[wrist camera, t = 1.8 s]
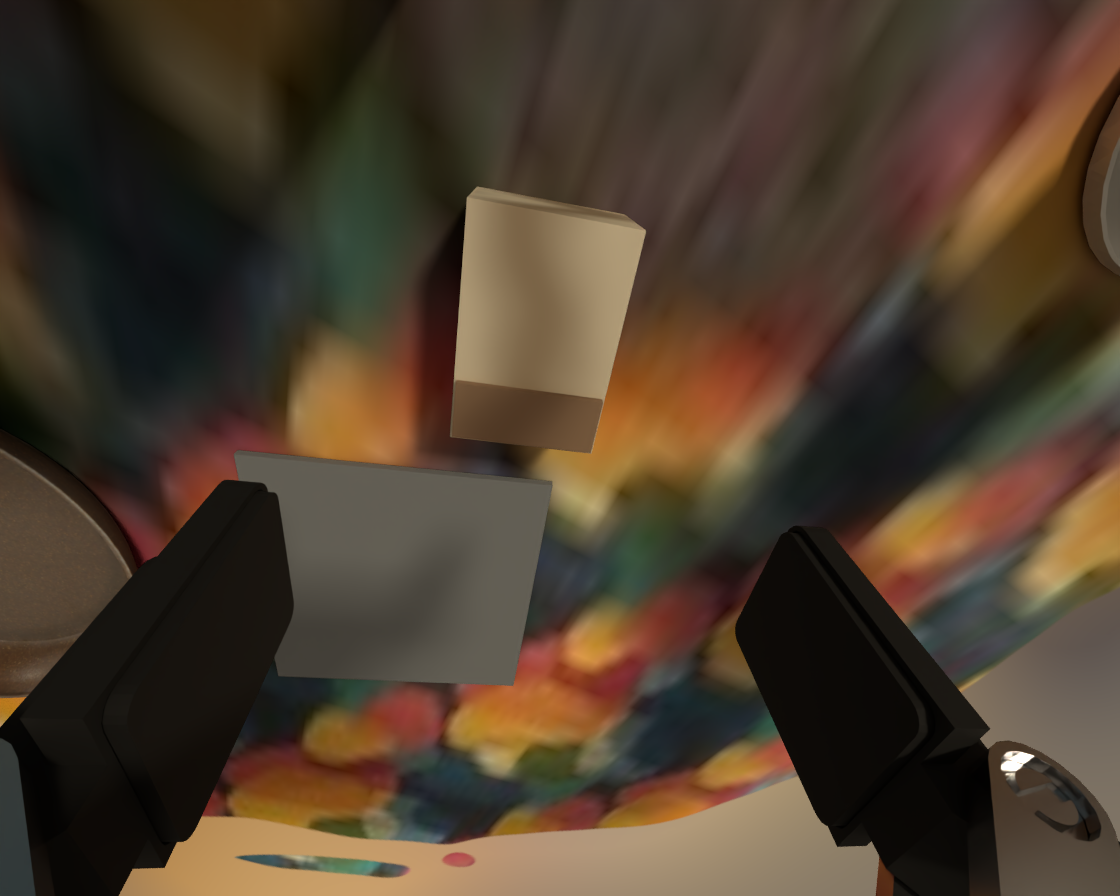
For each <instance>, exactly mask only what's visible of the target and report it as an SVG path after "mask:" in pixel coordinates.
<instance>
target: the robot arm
mask: <svg viewBox="0 0 1120 896" xmlns="http://www.w3.org/2000/svg"><path fill="white" fill-rule="evenodd" d="M1083 226H1084V230H1085V233H1086V237H1087V240H1088V244H1089V247H1090V248H1091V250H1092V251H1093V253H1094V254H1095V256H1096V257H1097V259H1098V260H1099V262H1100V263H1101V264H1103V265H1104V266H1105V267H1107V268H1108V269H1109V270H1111V271H1112V272H1113V273H1115V274H1116V275H1119V276H1120V95H1119V97H1118V99H1117V101H1116V103H1115V105H1114V107H1113V109H1112V111H1111V113H1110V115H1109V117H1108V119H1107V121H1106V123H1105V125H1104V127H1103V129H1102V131H1101V133H1100V135H1099V138H1098V141H1097V144H1096V147H1095V149H1094V152H1093V155H1092V158H1091V161H1090V164H1089V167H1088V171H1087V177H1086V182H1085V188H1084V193H1083ZM293 610H294V599H293V592H292V585H291V579H290V572H289V565H288V559H287V552H286V545H285V538H284V532H283V525H282V518H281V512H280V505H279V499H278V495H277V494H276V493H275V492H268V489H267V487H266V485H265V484H264V483H261V482H248V481H236V480H224V481H222V482H221V483H220V484H219V485H218V486H217V487H216V488H215V489H214V491H213V492H212V493H211V494H210V495H209V496H208V498H207V499H206V500H205V501H204V502H203V503H202V505H201V506H200V507H199V508H198V509H197V511H196V512H195V513H194V514H193V515H192V516H191V518H190V519H189V520H188V521H187V522H186V523H185V525H184V526H183V527H182V528H181V529H180V531H179V532H178V533H177V534H176V535H175V536H174V538H173V539H172V540H171V541H170V542H169V543H168V545H167V546H166V547H165V548H164V549H163V550H162V552H161V553H160V554H159V555H158V556H157V557H154V558H152V559H150V560H147V561H146V562H145V563H144V564H143V565H142V566H141V567H140V568H139V569H138V570H137V571H136V572H135V573H134V574H133V576H132V577H131V578H130V579H129V580H128V581H127V582H126V584H125V585H124V586H123V587H122V588H121V589H120V591H119V592H118V593H117V594H116V595H115V596H114V597H113V599H112V600H111V601H110V602H109V603H108V604H107V605H106V607H105V608H104V609H103V610H102V611H101V612H100V613H99V615H98V616H97V617H96V618H95V619H94V620H93V622H92V623H91V624H90V625H89V626H88V627H87V628H86V630H85V631H84V632H83V633H82V634H81V635H80V636H79V638H78V639H77V640H76V641H75V642H74V643H73V644H72V646H71V647H70V648H69V649H68V650H67V651H66V653H65V654H64V655H63V656H62V657H61V658H60V659H59V661H58V662H57V663H56V664H55V665H54V666H53V667H52V669H51V670H50V671H49V672H48V673H47V674H46V675H45V677H44V678H43V679H42V680H41V681H40V682H39V684H38V685H37V686H36V687H35V688H34V689H33V690H32V692H31V693H30V694H29V695H28V696H27V697H26V698H25V700H24V701H23V702H22V703H21V704H20V705H19V706H18V708H17V709H16V710H15V711H14V712H13V713H12V715H11V716H10V717H9V718H8V719H7V720H6V721H5V723H4V724H3V725H2V726H1V727H0V896H119V894H120V892H121V890H122V888H123V886H124V884H125V882H126V880H127V879H128V877H129V875H130V873H131V871H132V869H137V868H138V869H140V868H165V866H166V864H167V862H168V859H169V857H170V855H171V853H172V851H173V849H174V847H175V845H176V843H177V842H184V841H186V840H187V839H189V837H190V836H191V835H192V834H193V832H194V831H195V829H196V827H197V825H198V823H199V821H200V819H201V816H202V814H203V812H204V810H205V808H206V805H207V803H208V801H209V799H210V797H211V794H212V792H213V790H214V788H215V786H216V784H217V781H218V779H219V777H220V775H221V773H222V770H223V768H224V766H225V764H226V762H227V760H228V757H229V755H230V753H231V751H232V749H233V746H234V744H235V742H236V740H237V738H238V736H239V733H240V731H241V729H242V727H243V725H244V722H245V720H246V718H247V716H248V714H249V711H250V709H251V707H252V705H253V703H254V701H255V698H256V696H257V694H258V692H259V690H260V687H261V685H262V683H263V681H264V679H265V677H266V674H267V672H268V670H269V668H270V666H271V663H272V661H273V659H274V657H275V655H276V653H277V650H278V648H279V646H280V644H281V642H282V639H283V637H284V635H285V633H286V631H287V629H288V626H289V624H290V622H291V619H292V615H293ZM735 634H736V639H737V642H738V644H739V646H740V648H741V650H742V653H743V655H744V657H745V659H746V661H747V664H748V666H749V668H750V670H751V672H752V675H753V677H754V679H755V681H756V683H757V686H758V688H759V690H760V692H761V694H762V697H763V699H764V701H765V703H766V706H767V708H768V710H769V712H770V714H771V717H772V719H773V721H774V723H775V725H776V728H777V730H778V732H779V734H780V736H781V739H782V741H783V743H784V745H785V747H786V750H787V752H788V754H789V756H790V758H791V761H792V763H793V765H794V767H795V769H796V772H797V774H798V776H799V778H800V780H801V783H802V785H803V787H804V789H805V791H806V794H807V796H808V798H809V800H810V802H811V804H812V807H813V809H814V811H815V813H816V815H817V816H818V818H819V819H820V821H821V822H822V823H823V824H825V825H826V826H828V828H829V830H830V832H831V834H832V836H833V839H834V840H835V843H836V845H837V847H843V846H867V845H868V844H869V843H870V842H871V841H872V843H873V845H874V847H875V848H876V850H877V852H878V854H879V867H878V878H877V887H876V896H1120V842H1119V841H1118V839H1117V836H1116V832H1115V830H1114V828H1113V825H1112V823H1111V821H1110V819H1109V817H1108V815H1107V813H1106V812H1105V810H1104V809H1103V807H1102V806H1101V805H1100V803H1099V802H1098V801H1097V799H1096V798H1095V796H1094V795H1093V794H1092V793H1091V792H1090V791H1089V790H1088V789H1087V788H1086V787H1085V786H1084V785H1083V784H1082V783H1081V782H1080V781H1079V780H1078V779H1077V778H1076V777H1075V776H1074V775H1072V774H1071V773H1070V772H1069V771H1067V770H1066V769H1065V768H1064V767H1063V766H1061V765H1060V764H1059V763H1057V762H1056V761H1054V760H1052V759H1051V758H1049V757H1048V756H1046V755H1044V754H1043V753H1042V752H1040V751H1037V750H1035V749H1033V748H1031V747H1028V746H1027V745H1024V744H1021V743H1017V742H1012V741H999V742H996V743H995V744H994V745H992V746H991V747H990V748H989V749H987V748H986V747H985V745H984V744H983V743H982V741H981V740H980V738H981V737H982V736H983V735H984V734H985V733H986V732H987V731H988V730H990V728H989V727H988V726H987V724H986V723H985V722H984V721H983V719H982V718H981V717H980V716H979V714H978V713H977V712H976V711H975V710H974V708H973V707H972V706H971V705H970V704H969V702H968V701H967V700H966V699H965V697H964V696H963V695H962V694H961V692H960V691H959V690H958V689H957V688H956V686H955V685H954V684H953V683H952V681H951V680H950V679H949V678H948V677H947V675H946V674H945V673H944V672H943V670H942V669H941V668H940V667H939V665H938V664H937V663H936V662H935V661H934V659H933V658H932V657H931V656H930V654H929V653H928V652H927V651H926V650H925V648H924V647H923V646H922V645H921V643H920V642H919V641H918V640H917V639H916V637H915V636H914V635H913V634H912V632H911V631H910V630H909V629H908V628H907V626H906V625H905V624H904V623H903V621H902V620H901V619H900V618H899V617H898V615H897V614H896V613H895V612H894V610H893V609H892V608H891V607H890V606H889V604H888V603H887V602H886V601H885V599H884V598H883V597H882V596H881V595H880V593H879V592H878V591H877V590H876V588H875V587H874V586H873V585H872V583H871V582H870V581H869V580H868V579H867V577H866V576H865V575H864V574H863V572H862V571H861V570H860V569H859V568H858V566H857V565H856V564H855V563H854V561H853V560H852V559H851V558H850V557H849V555H848V554H847V553H846V552H845V550H844V549H843V548H842V547H841V546H840V544H839V543H838V542H837V541H836V539H835V538H834V537H833V536H832V535H831V533H830V532H829V531H827V530H826V529H824V528H819V527H807V526H793V527H792V528H790V529H789V530H788V532H786V533H783V534H782V535H781V536H780V538H779V540H778V542H777V544H776V546H775V548H774V550H773V551H772V553H771V555H770V557H769V559H768V561H767V563H766V565H765V567H764V569H763V571H762V573H761V575H760V577H759V579H758V581H757V583H756V585H755V587H754V589H753V591H752V593H751V595H750V597H749V599H748V600H747V602H746V604H745V606H744V608H743V610H742V612H741V614H740V616H739V618H738V620H737V623H736V627H735Z"/></svg>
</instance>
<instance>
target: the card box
mask: <svg viewBox="0 0 1120 896" xmlns="http://www.w3.org/2000/svg"><path fill="white" fill-rule="evenodd" d="M645 233H646V230H645V229H643V228H642V227H640V226H639V225H638V224H636V223H635V222H634V221H632V220H631V219H630V218H628V217H627V216H626V215H624V214H619V213H614V212H609V211H603V210H598V209H593V208H588V207H582V206H577V205H572V204H566V203H561V202H556V201H551V200H545V199H540V198H535V197H530V196H524V195H519V194H514V193H509V192H503V191H498V190H493V189H488V188H482V187H476V189H475V190H474V191H473V192H472V193H471V194H470V195H469V196H468V197H467V206H466V220H465V234H464V247H463V261H462V275H461V289H460V302H459V316H458V330H457V344H456V358H455V371H454V385H453V399H452V413H451V427H450V437H455V438H463V439H472V440H480V441H489V442H497V443H506V444H514V445H523V446H532V447H540V448H549V449H557V450H566V451H574V452H583V453H592V449H593V445H594V441H595V437H596V432H597V428H598V424H599V420H600V416H601V412H602V408H603V404H604V400H605V396H606V392H607V388H608V384H609V380H610V376H611V372H612V367H613V363H614V359H615V355H616V351H617V347H618V343H619V339H620V335H621V331H622V327H623V323H624V319H625V315H626V311H627V306H628V302H629V298H630V294H631V290H632V286H633V282H634V278H635V274H636V270H637V266H638V262H639V258H640V254H641V250H642V245H643V241H644V237H645Z"/></svg>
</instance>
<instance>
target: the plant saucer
mask: <svg viewBox="0 0 1120 896" xmlns="http://www.w3.org/2000/svg"><path fill="white" fill-rule="evenodd" d="M136 571H137V566H136V563H135V560H134V558H133V555H132V553H131V550H130V548H129V545H128V543H127V541H126V539H125V538H124V536H123V534H122V532H121V531H120V529H119V527H118V526H117V524H116V523H115V521H114V520H113V518H112V517H111V515H110V514H109V513H108V511H107V510H106V509H105V508H104V507H103V505H102V504H101V503H100V502H99V501H98V500H97V499H96V497H95V496H94V495H93V494H92V493H91V492H90V491H89V490H88V489H87V488H86V487H85V486H84V485H83V484H82V483H81V482H79V481H78V480H77V479H76V478H75V477H74V476H72V475H71V474H70V473H69V472H68V471H67V470H65V469H64V468H63V467H61V466H60V465H58V464H57V463H56V462H54V461H53V460H52V459H50V458H49V457H47V456H46V455H44V454H43V453H42V452H40V451H39V450H37V449H35V448H34V447H32V446H31V445H29V444H28V443H26V442H24V441H22V440H20V439H19V438H17V437H15V436H13V435H11V434H9V433H8V432H6V431H4V430H2V429H0V698H15V697H27V696H28V695H29V694H30V693H31V692H32V690H33V689H34V688H35V687H36V686H37V685H38V684H39V682H40V681H41V680H42V679H43V678H44V677H45V675H46V674H47V673H48V672H49V671H50V670H51V669H52V667H53V666H54V665H55V664H56V663H57V662H58V661H59V659H60V658H61V657H62V656H63V655H64V654H65V653H66V651H67V650H68V649H69V648H70V647H71V646H72V644H73V643H74V642H75V641H76V640H77V639H78V638H79V636H80V635H81V634H82V633H83V632H84V631H85V630H86V628H87V627H88V626H89V625H90V624H91V623H92V622H93V620H94V619H95V618H96V617H97V616H98V615H99V613H100V612H101V611H102V610H103V609H104V608H105V607H106V605H107V604H108V603H109V602H110V601H111V600H112V599H113V597H114V596H115V595H116V594H117V593H118V592H119V591H120V589H121V588H122V587H123V586H124V585H125V584H126V582H127V581H128V580H129V579H130V578H131V577H132V576H133V574H134V573H135V572H136Z"/></svg>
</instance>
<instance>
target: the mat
mask: <svg viewBox="0 0 1120 896" xmlns="http://www.w3.org/2000/svg"><path fill="white" fill-rule="evenodd" d="M234 458H235V463H236V468H237V473H238V478H239V481H248V482H261V483H264V484H265V485H266V487H267V489H268V492H275V493H276V494H277V495H278V499H279V505H280V512H281V518H282V525H283V532H284V538H285V545H286V552H287V559H288V565H289V572H290V579H291V585H292V592H293V599H294V610H293V615H292V619H291V622H290V624H289V626H288V629H287V631H286V633H285V635H284V637H283V639H282V642H281V644H280V646H279V648H278V650H277V653H276V655H275V662H276V667H277V672H278V676H286V677H311V678H335V679H360V680H385V681H410V682H435V683H460V684H485V685H509V686H513V684H514V679H515V674H516V669H517V664H518V659H519V654H520V649H521V644H522V638H523V633H524V628H525V623H526V618H527V613H528V608H529V603H530V598H531V593H532V587H533V582H534V577H535V572H536V567H537V562H538V557H539V552H540V547H541V542H542V536H543V531H544V526H545V521H546V516H547V511H548V506H549V501H550V496H551V491H552V481H543V480H533V479H523V478H513V477H503V476H493V475H483V474H473V473H463V472H453V471H443V470H432V469H422V468H412V467H402V466H392V465H382V464H372V463H362V462H352V461H342V460H332V459H322V458H312V457H302V456H292V455H281V454H271V453H261V452H251V451H241V450H237V452H236V453H235V454H234Z"/></svg>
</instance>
